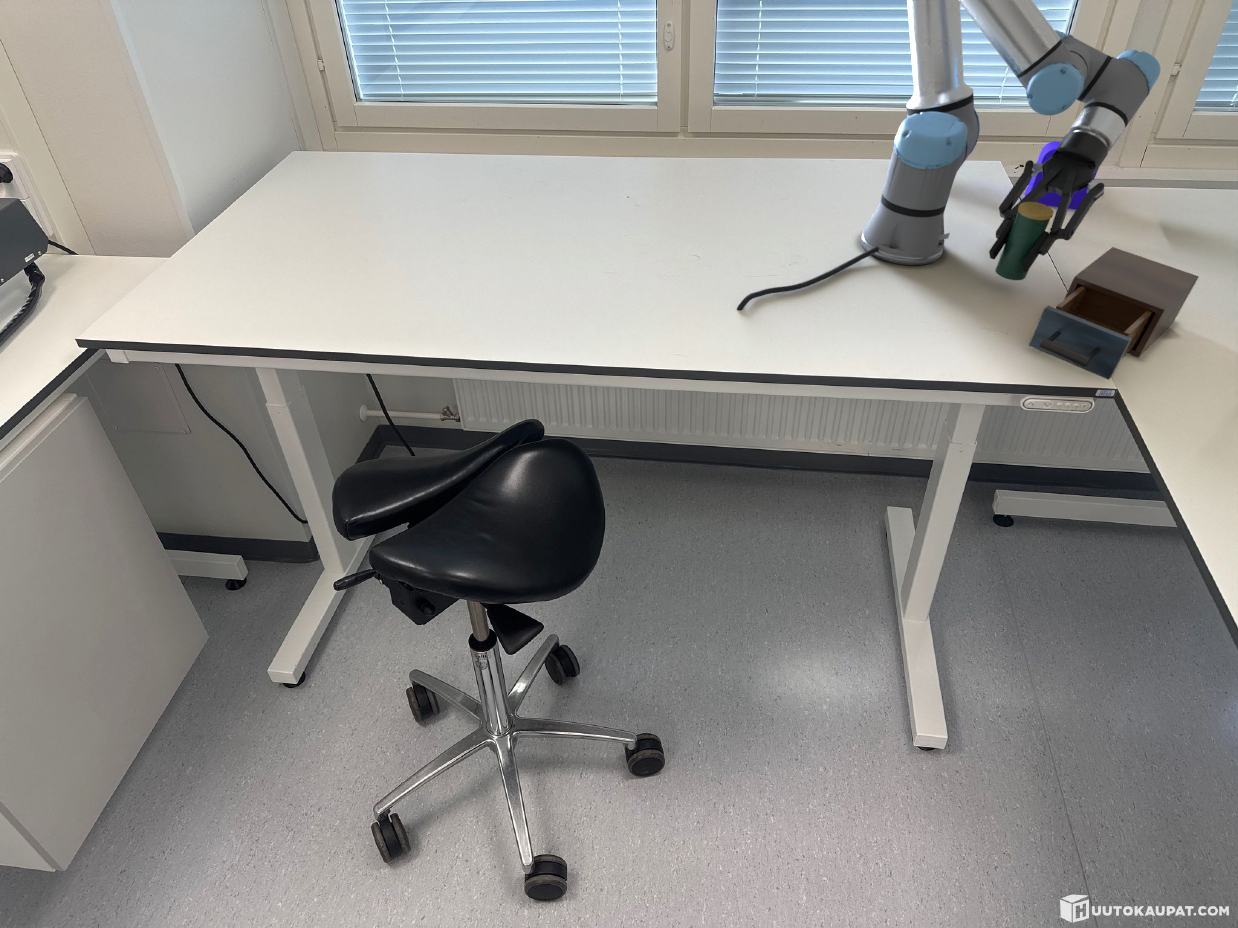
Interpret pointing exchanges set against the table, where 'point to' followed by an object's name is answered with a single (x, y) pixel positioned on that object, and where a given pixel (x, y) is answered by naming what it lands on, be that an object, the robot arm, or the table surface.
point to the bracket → (1050, 197)
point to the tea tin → (1023, 238)
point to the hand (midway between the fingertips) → (1008, 261)
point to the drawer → (1091, 330)
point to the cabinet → (1139, 288)
